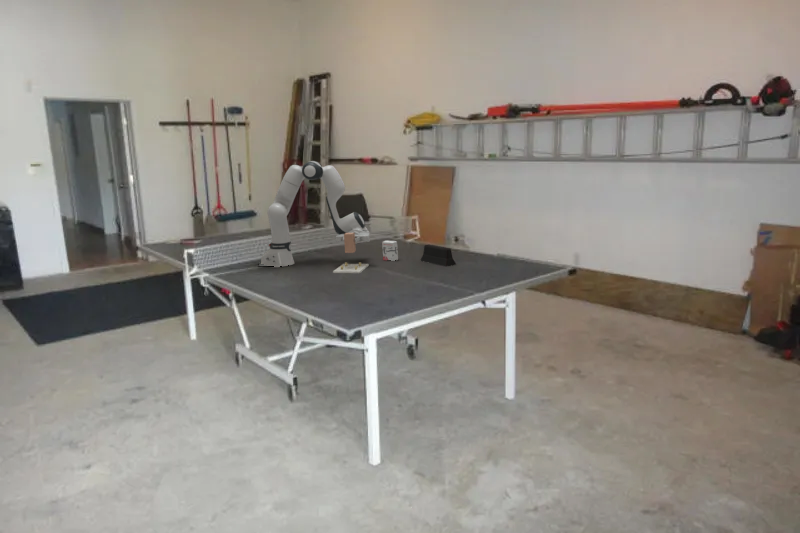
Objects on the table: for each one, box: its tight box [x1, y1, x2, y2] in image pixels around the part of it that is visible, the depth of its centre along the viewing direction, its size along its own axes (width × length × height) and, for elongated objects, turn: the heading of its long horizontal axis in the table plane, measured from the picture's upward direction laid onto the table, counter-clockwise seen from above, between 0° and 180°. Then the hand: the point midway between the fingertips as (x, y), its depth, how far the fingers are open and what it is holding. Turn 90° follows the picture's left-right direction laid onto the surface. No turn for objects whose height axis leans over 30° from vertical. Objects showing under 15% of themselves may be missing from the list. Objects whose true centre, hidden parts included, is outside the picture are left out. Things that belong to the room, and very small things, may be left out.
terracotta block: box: [343, 232, 357, 254], centre depth 331 cm, size 5×5×11 cm
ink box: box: [381, 240, 399, 262], centre depth 355 cm, size 9×5×12 cm, turn 62°
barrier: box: [420, 244, 457, 267], centre depth 342 cm, size 24×9×10 cm, turn 38°
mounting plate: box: [332, 262, 370, 274], centre depth 334 cm, size 16×20×3 cm
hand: (349, 240), depth 331 cm, fingers closed on terracotta block, 5 cm apart
